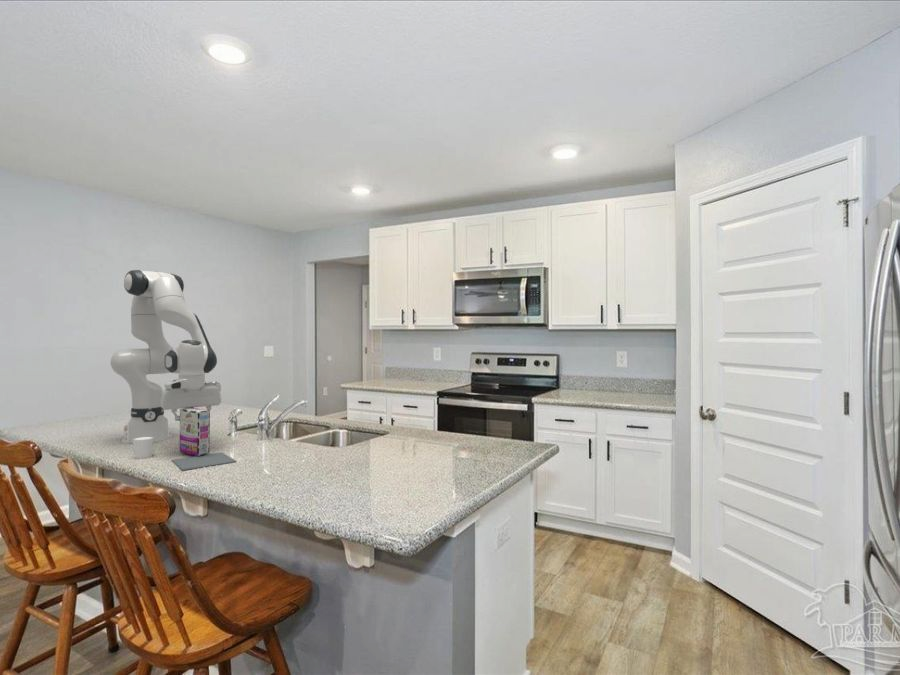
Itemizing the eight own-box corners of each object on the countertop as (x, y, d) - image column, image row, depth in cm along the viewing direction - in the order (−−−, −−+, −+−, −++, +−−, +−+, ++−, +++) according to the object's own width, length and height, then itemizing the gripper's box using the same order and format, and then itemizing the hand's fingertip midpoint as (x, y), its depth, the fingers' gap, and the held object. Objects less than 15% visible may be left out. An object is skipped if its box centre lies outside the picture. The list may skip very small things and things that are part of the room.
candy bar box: (210, 453, 182) (210, 410, 181) (198, 456, 178) (198, 412, 177) (191, 448, 187) (191, 406, 186) (178, 451, 183) (178, 408, 182)
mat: (171, 461, 174) (171, 459, 174) (222, 453, 185) (222, 452, 185) (182, 471, 161) (182, 469, 161) (236, 462, 172) (236, 461, 172)
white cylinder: (158, 455, 183) (158, 436, 183) (145, 459, 176) (145, 440, 176) (141, 454, 183) (141, 436, 183) (127, 459, 177) (127, 439, 177)
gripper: (218, 380, 195) (218, 415, 195) (159, 383, 182) (159, 421, 182) (223, 381, 190) (223, 417, 190) (163, 385, 177) (163, 423, 177)
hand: (191, 419), depth 186 cm, fingers open, 8 cm apart
